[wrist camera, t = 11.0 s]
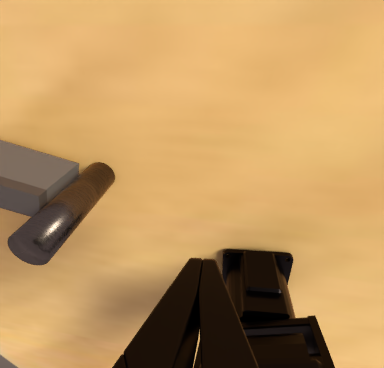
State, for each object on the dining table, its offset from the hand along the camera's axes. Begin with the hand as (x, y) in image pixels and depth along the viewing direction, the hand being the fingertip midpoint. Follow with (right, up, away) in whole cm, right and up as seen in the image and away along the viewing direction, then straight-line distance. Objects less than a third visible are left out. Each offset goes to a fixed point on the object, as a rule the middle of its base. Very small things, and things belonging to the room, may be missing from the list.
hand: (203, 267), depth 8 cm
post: (-8, +4, +13) cm, 16 cm away
